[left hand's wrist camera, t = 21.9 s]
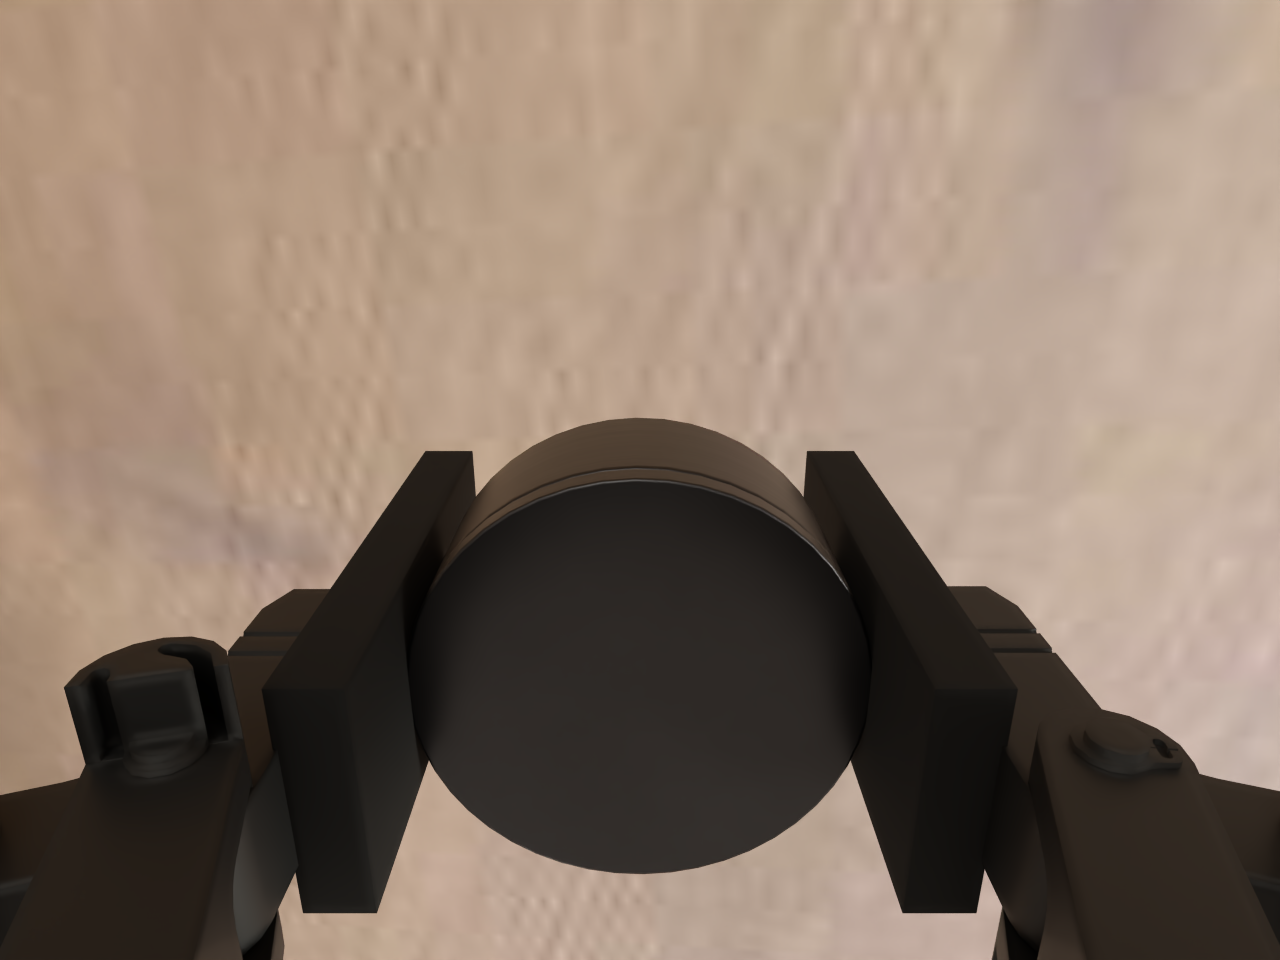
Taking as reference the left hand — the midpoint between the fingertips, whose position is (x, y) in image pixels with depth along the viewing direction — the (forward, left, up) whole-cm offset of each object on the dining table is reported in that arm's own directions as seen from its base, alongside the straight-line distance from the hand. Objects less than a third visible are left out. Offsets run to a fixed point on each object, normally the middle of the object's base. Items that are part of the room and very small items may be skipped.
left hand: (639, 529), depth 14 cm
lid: (0, 0, +4) cm, 4 cm away
